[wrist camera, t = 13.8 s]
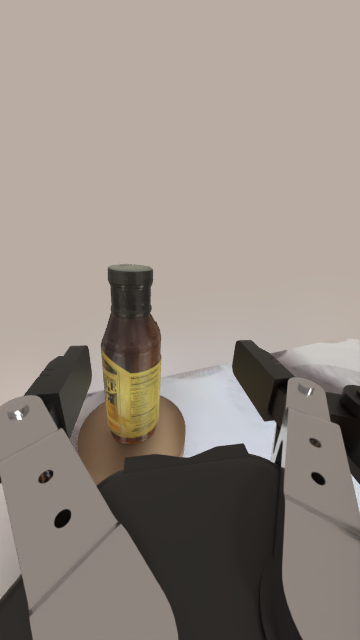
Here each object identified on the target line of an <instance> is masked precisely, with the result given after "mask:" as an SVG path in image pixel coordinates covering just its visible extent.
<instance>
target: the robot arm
mask: <svg viewBox="0 0 360 640" xmlns="http://www.w3.org/2000/svg"><path fill="white" fill-rule="evenodd" d="M232 369H233V373H234V375H235V377H236V379H237V380H238V382H239V383H240V385H241V386H242V388H243V389H244V391H245V392H246V394H247V396H248V397H249V399H250V400H251V402H252V403H253V405H254V406H255V408H256V409H257V411H258V413H259V414H260V416H261V417H262V419H263V420H264V421H273V420H275V422H276V426H275V430H274V438H273V446H272V453H271V461H269V460H267V459H265V458H262V457H260V456H256V455H252V454H248V452H247V450H246V447H245V445H244V443H243V444H234V445H226V446H218V447H214V448H212V449H209V450H207V451H205V452H202V453H200V454H197V455H195V456H193V457H190V458H183V457H176V456H169V455H161V454H150V455H142V456H133V457H125V460H124V469H122V470H120V471H117V472H116V473H114V474H112V475H110V476H109V477H107V478H106V479H104V480H103V481H101V482H100V483H99V484H98V485H97V486H96V485H95V483H94V481H93V480H92V478H91V476H90V474H89V473H88V471H87V469H86V468H85V466H84V464H83V462H82V461H81V459H80V457H79V455H78V454H77V452H76V450H75V449H74V447H73V445H72V443H71V442H70V440H69V439H70V437H71V434H72V431H73V429H74V426H75V423H76V421H77V418H78V415H79V413H80V410H81V408H82V405H83V402H84V400H85V397H86V394H87V392H88V389H89V386H90V383H91V378H92V371H91V363H90V356H89V349H88V346H70V347H69V349H68V350H67V352H66V353H65V355H64V356H58V357H57V358H55V359H54V360H52V361H51V362H50V363H49V364H48V365H47V366H46V368H45V369H44V371H42V373H41V374H40V376H39V377H38V378H37V379H36V380H35V382H34V383H33V384H32V386H31V387H30V388H29V389H28V391H27V392H26V393H25V395H24V396H22V397H18V398H15V399H13V400H10V401H8V402H6V403H5V404H3V405H2V406H0V483H2V485H3V490H4V495H5V499H6V504H7V508H8V513H9V518H10V522H11V527H12V531H13V536H14V541H15V545H16V550H17V554H18V559H19V564H20V568H21V573H22V574H21V575H20V576H19V578H18V579H17V580H16V581H15V582H14V584H13V585H12V586H11V587H10V588H9V590H8V591H7V592H6V593H5V595H4V596H3V597H2V598H1V599H0V640H360V512H359V508H358V504H357V499H356V495H355V490H354V486H353V482H352V477H351V474H352V476H353V477H354V478H355V479H356V480H357V482H358V483H359V484H360V386H356V385H347V386H345V387H344V389H343V392H342V394H334V393H328V392H325V391H324V389H323V388H322V387H321V386H319V385H318V384H317V383H315V382H313V381H311V380H308V379H305V378H300V377H294V376H293V375H292V374H291V373H290V372H289V371H288V370H287V369H286V368H285V367H284V366H283V365H282V364H280V363H279V362H278V361H277V360H276V359H275V358H274V357H273V356H272V355H271V354H270V353H268V352H266V351H265V350H263V349H261V348H259V347H258V346H257V345H256V344H255V343H254V342H253V341H251V340H240V341H237V342H236V345H235V351H234V358H233V364H232Z"/></svg>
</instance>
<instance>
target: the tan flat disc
mask: <svg viewBox="0 0 360 640" xmlns="http://www.w3.org/2000/svg"><path fill="white" fill-rule="evenodd" d="M184 442H185V421H184V418H183V416H182V414H181V412H180V410H179V409H178V408H177V406H176V405H175V404H174V403H172V402H171V401H170V400H168V399H167V398H165V397H163V396H160V399H159V418H158V422H157V427H156V429H155V432H154V434H153V435H152V436H150V437H149V439H146V440H145V441H143V442H141V443H138V444H133V445H131V444H123V443H120V442H117V440H115V438H114V437H113V436H112V434H111V431H110V429H109V426H108V422H107V411H106V402H104V403H102V404H101V405H100V406H98V407H97V408H96V409H95V410H93V412H92V413H91V414H90V415H89V416H88V417H87V419H86V420H85V422H84V423H83V425H82V427H81V429H80V432H79V436H78V453H79V457H80V459H81V461H82V462H83V464H84V466H85V468H86V469H87V471H88V473H89V474H90V476H91V478H92V480H93V481H94V483H95V485H96V486H97V485H98V484H99V483H100V482H101V481H103V480H104V479H106V478H107V477H109V476H110V475H112V474H114V473H116V472H117V471H120V470H122V469H124V460H125V457H133V456H142V455H150V454H161V455H169V456H176V457H183V452H184Z"/></svg>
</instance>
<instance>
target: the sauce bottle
mask: <svg viewBox="0 0 360 640" xmlns="http://www.w3.org/2000/svg"><path fill="white" fill-rule="evenodd" d="M108 281H109V283H110V285H111V302H112V305H111V315H110V318H109V321H108V325H107V328H106V331H105V334H104V337H103V339H102V343H101V354H102V365H103V377H104V388H105V400H106V411H107V422H108V426H109V429H110V431H111V434H112V436H113V437H114V438H115V440H117V442H120V443H123V444H131V445H133V444H138V443H141V442H143V441H145V440H146V439H149V437H150V436H152V435H153V434H154V432H155V429H156V427H157V422H158V418H159V399H160V372H161V355H160V346H161V334H160V329H159V327H158V325H157V322H155V321H154V319H153V317H152V315H151V314H150V312H151V309H152V308H151V305H150V296H151V295H150V294H151V285H152V282H153V269H152V268H151V267H148V266H142V265H132V264H130V265H129V264H123V265H122V264H120V265H112V266H109V267H108Z"/></svg>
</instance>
